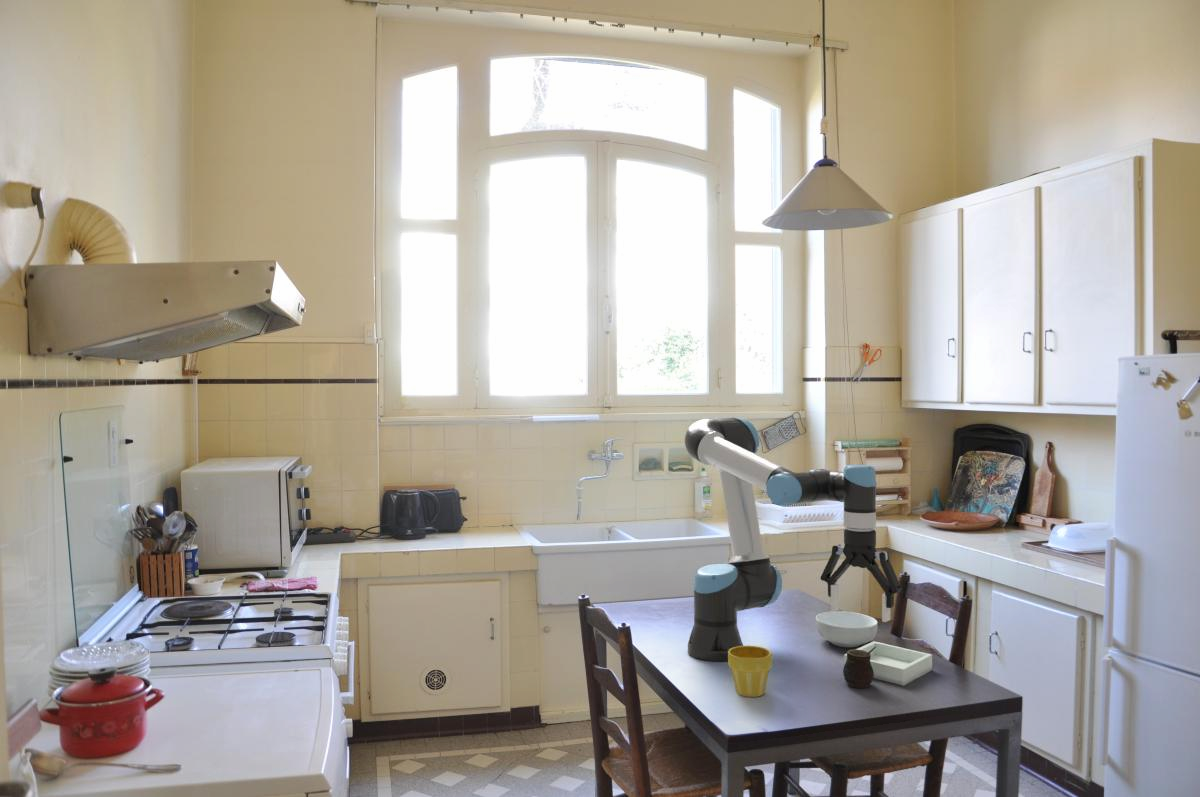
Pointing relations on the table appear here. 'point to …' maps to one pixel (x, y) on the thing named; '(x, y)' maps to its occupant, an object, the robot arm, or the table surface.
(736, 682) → the plant pot
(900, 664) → the open box
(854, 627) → the cereal bowl
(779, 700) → the table surface
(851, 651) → the mate gourd
